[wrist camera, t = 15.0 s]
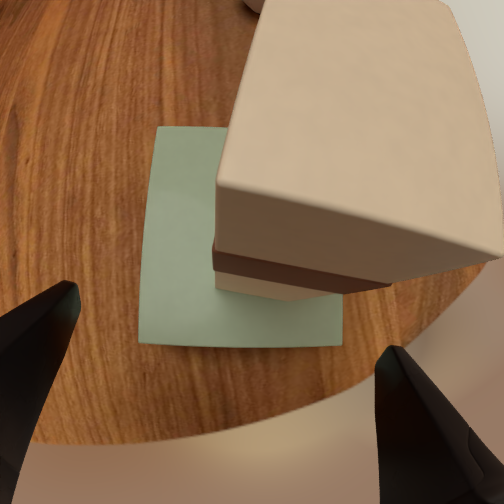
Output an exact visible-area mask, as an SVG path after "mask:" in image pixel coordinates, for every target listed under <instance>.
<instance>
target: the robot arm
mask: <svg viewBox="0 0 504 504" xmlns="http://www.w3.org/2000/svg"><path fill="white" fill-rule="evenodd" d="M80 310H81V301H80V295H79V289H78V285H77V284H76V283H74V282H71V281H67V280H63V281H61V282H59V283H57V284H56V285H54V286H52V287H50V288H48V289H47V290H45V291H43V292H42V293H40V294H38V295H36V296H35V297H33V298H31V299H30V300H28V301H26V302H24V303H23V304H21V305H19V306H18V307H16V308H14V309H13V310H11V311H9V312H8V313H6V314H5V315H3V316H1V317H0V504H11V502H12V499H13V495H14V491H15V488H16V484H17V481H18V477H19V474H20V473H19V472H20V470H21V467H22V464H23V461H24V458H25V455H26V452H27V449H28V446H29V443H30V440H31V437H32V434H33V432H34V429H35V426H36V424H37V421H38V418H39V416H40V413H41V411H42V408H43V406H44V403H45V401H46V398H47V396H48V393H49V391H50V388H51V386H52V384H53V381H54V379H55V377H56V374H57V372H58V370H59V368H60V365H61V363H62V361H63V359H64V356H65V353H66V351H67V348H68V345H69V342H70V339H71V336H72V333H73V330H74V328H75V325H76V322H77V319H78V316H79V314H80ZM375 422H376V433H377V447H378V463H379V486H380V504H504V465H503V464H502V463H501V462H500V461H499V460H498V459H497V458H496V456H494V454H493V453H492V452H491V451H490V450H489V449H488V448H487V447H486V446H485V444H484V443H483V442H482V441H481V439H479V437H478V436H477V435H476V433H475V432H474V431H473V430H472V428H471V427H469V425H468V424H467V422H466V421H465V420H464V419H463V417H462V416H461V415H460V414H459V413H458V411H457V410H456V409H455V408H454V407H453V405H452V404H451V403H450V402H449V401H448V399H447V398H446V397H445V396H444V395H443V393H442V392H441V391H440V390H439V389H438V388H437V386H436V385H435V384H434V383H433V382H432V381H431V379H430V378H429V377H428V376H427V375H426V374H425V373H424V371H423V370H422V369H421V368H420V367H419V365H418V364H417V363H416V362H415V361H414V360H413V359H412V357H411V356H410V355H409V354H408V353H407V352H406V351H405V349H404V348H403V347H401V346H394V345H390V346H388V347H387V348H386V350H385V351H384V352H383V354H382V355H381V356H380V358H379V359H378V360H377V362H376V364H375Z"/></svg>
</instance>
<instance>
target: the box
mask: <svg viewBox="0 0 504 504" xmlns="http://www.w3.org/2000/svg"><path fill="white" fill-rule="evenodd" d="M227 130H228V128H220V127H187V126H158V127H157V132H156V138H155V145H154V151H153V158H152V165H151V172H150V179H149V187H148V195H147V204H146V213H145V223H144V234H143V245H142V259H141V274H140V294H139V324H138V342H139V343H146V344H160V345H177V346H198V347H234V348H284V347H319V346H341V345H342V330H343V294H337V293H336V294H331V295H325V296H319V297H313V298H307V299H301V300H295V301H289V302H288V301H282V300H276V299H271V298H265V297H259V296H254V295H249V294H243V293H238V292H232V291H227V290H222V289H217V288H215V271H214V270H213V263H212V246H213V241H214V236H215V179H216V175H217V171H218V166H219V162H220V158H221V154H222V150H223V146H224V142H225V138H226V134H227Z"/></svg>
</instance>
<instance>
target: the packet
mask: <svg viewBox="0 0 504 504" xmlns="http://www.w3.org/2000/svg"><path fill="white" fill-rule="evenodd" d="M503 256H504V227H503V211H502V200H501V191H500V183H499V175H498V168H497V162H496V156H495V150H494V145H493V140H492V135H491V131H490V126H489V121H488V117H487V113H486V109H485V105H484V101H483V97H482V94H481V90H480V87H479V83H478V80H477V77H476V74H475V71H474V68H473V65H472V62H471V59H470V56H469V53H468V50H467V48H466V45H465V43H464V40H463V37H462V35H461V33H460V30H459V28H458V25H457V23H456V21H455V18H454V16H453V14H452V12H451V9H450V8H449V6H448V5H446V4H444V3H443V2H441V1H439V0H265V1H264V4H263V8H262V11H261V14H260V17H259V20H258V24H257V27H256V30H255V33H254V37H253V40H252V43H251V47H250V50H249V54H248V57H247V61H246V64H245V68H244V71H243V75H242V78H241V82H240V85H239V89H238V93H237V96H236V100H235V104H234V107H233V111H232V115H231V119H230V123H229V126H228V130H227V134H226V138H225V142H224V146H223V150H222V154H221V158H220V162H219V166H218V171H217V175H216V179H215V236H214V241H213V246H212V263H213V270H214V271H215V288H217V289H222V290H227V291H232V292H238V293H243V294H249V295H254V296H259V297H265V298H271V299H276V300H282V301H288V302H289V301H295V300H301V299H307V298H313V297H319V296H325V295H331V294H336V293H337V294H349V293H355V292H361V291H367V290H373V289H378V288H384V287H389V286H391V285H392V283H394V282H399V281H404V280H409V279H414V278H418V277H423V276H428V275H432V274H437V273H441V272H445V271H450V270H454V269H459V268H463V267H467V266H471V265H475V264H479V263H484V262H488V261H492V260H496V259H499V258H501V257H503Z"/></svg>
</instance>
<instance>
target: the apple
mask: <svg viewBox="0 0 504 504" xmlns="http://www.w3.org/2000/svg"><path fill="white" fill-rule="evenodd" d="M264 1H265V0H243V2H244V3H245V4H246V5H248V6H249V7H250V8H251V9H252V10H253V11H254V12H256V13H259V14H261V11H262V8H263V4H264Z"/></svg>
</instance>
